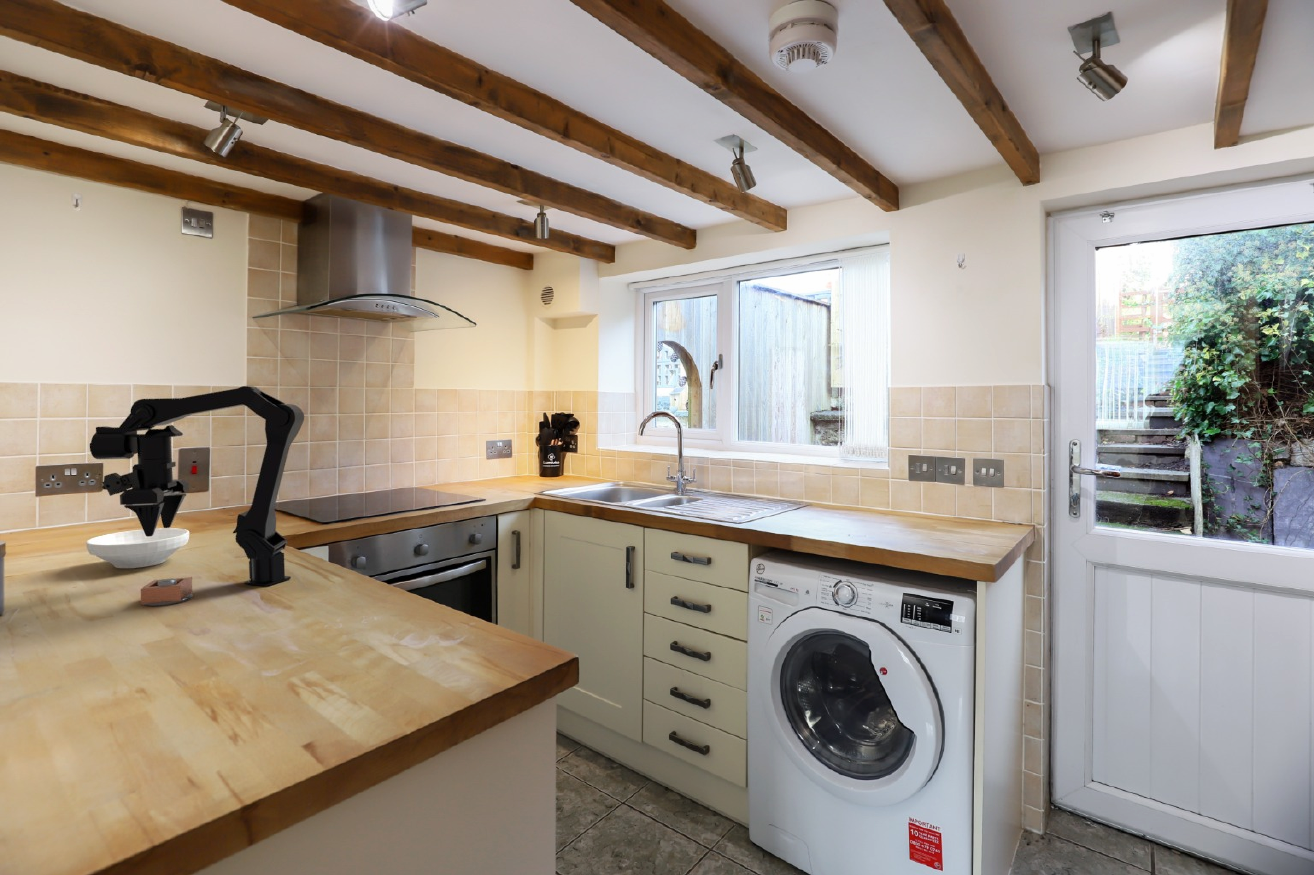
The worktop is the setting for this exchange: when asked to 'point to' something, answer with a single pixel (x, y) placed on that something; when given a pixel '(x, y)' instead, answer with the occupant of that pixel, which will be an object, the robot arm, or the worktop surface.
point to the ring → (166, 591)
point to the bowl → (137, 547)
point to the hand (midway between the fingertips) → (158, 531)
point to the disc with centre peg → (165, 583)
